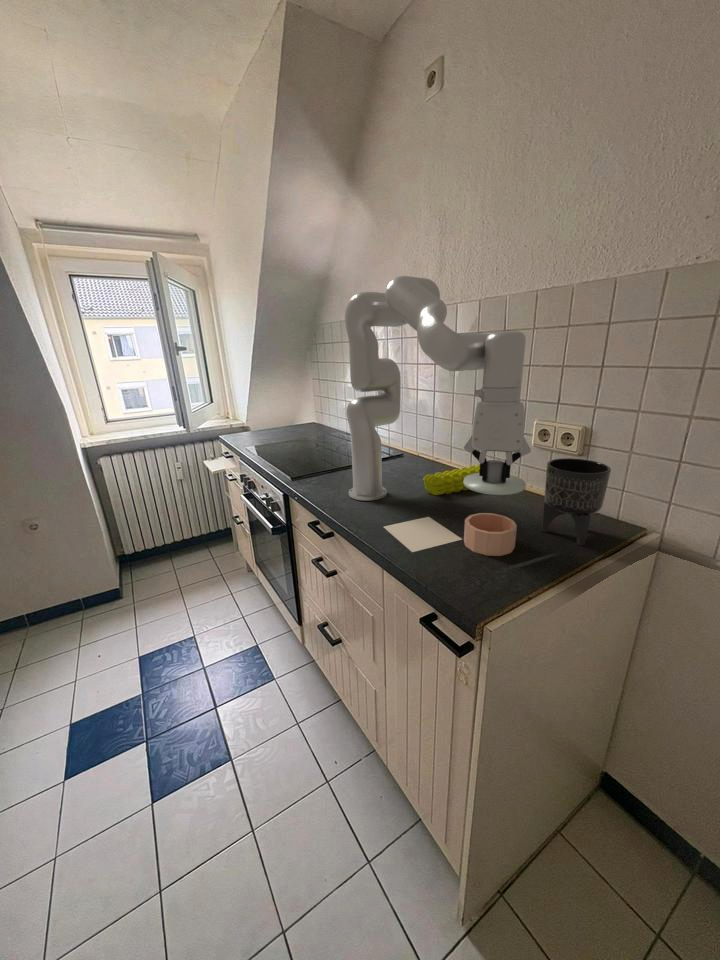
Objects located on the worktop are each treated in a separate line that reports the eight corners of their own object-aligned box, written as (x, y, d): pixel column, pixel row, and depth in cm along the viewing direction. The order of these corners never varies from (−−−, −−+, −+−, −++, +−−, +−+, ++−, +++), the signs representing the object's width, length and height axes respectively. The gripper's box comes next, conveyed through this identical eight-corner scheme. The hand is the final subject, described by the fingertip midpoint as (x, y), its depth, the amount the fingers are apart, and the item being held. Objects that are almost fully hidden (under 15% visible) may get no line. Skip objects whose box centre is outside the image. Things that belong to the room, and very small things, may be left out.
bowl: (454, 541, 91) (455, 518, 89) (490, 531, 95) (492, 510, 93) (485, 562, 82) (487, 537, 80) (524, 551, 86) (527, 527, 84)
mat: (383, 528, 99) (383, 526, 99) (428, 518, 104) (428, 516, 104) (412, 554, 86) (412, 552, 86) (462, 541, 91) (462, 539, 91)
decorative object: (420, 493, 124) (421, 473, 121) (496, 477, 137) (497, 458, 135) (434, 500, 117) (434, 478, 115) (511, 482, 131) (513, 463, 129)
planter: (611, 545, 87) (625, 472, 81) (557, 549, 86) (568, 475, 80) (576, 521, 99) (586, 456, 93) (528, 525, 98) (536, 459, 93)
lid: (451, 481, 87) (452, 459, 85) (496, 472, 92) (497, 452, 90) (490, 498, 75) (492, 474, 74) (539, 488, 80) (541, 465, 79)
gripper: (457, 397, 77) (453, 482, 83) (546, 398, 71) (535, 489, 77) (462, 393, 84) (458, 472, 90) (544, 394, 78) (534, 478, 84)
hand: (494, 479), depth 83 cm, fingers closed on lid, 3 cm apart
